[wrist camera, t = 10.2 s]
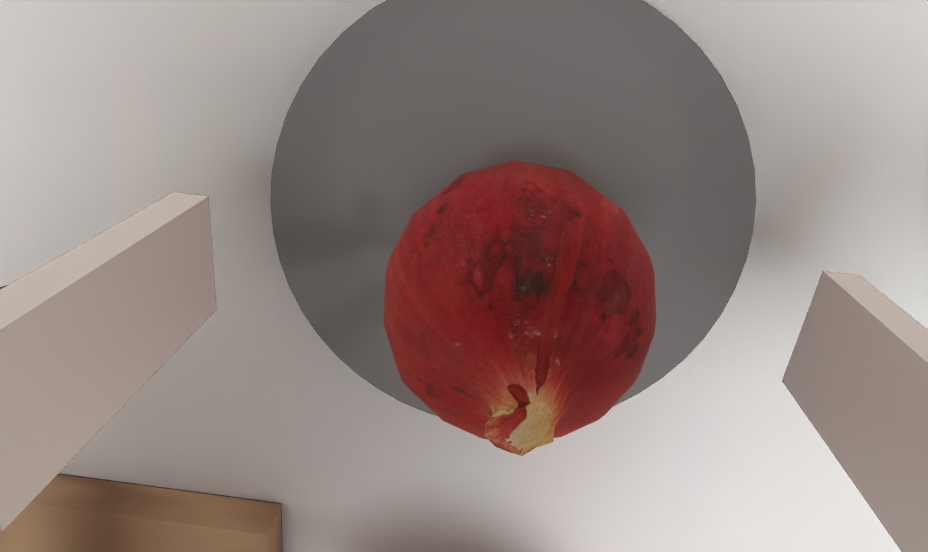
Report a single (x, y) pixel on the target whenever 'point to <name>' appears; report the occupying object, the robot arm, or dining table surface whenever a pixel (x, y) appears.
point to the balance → (140, 520)
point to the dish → (509, 153)
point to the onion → (519, 304)
